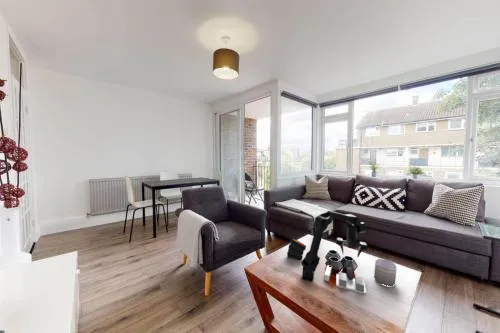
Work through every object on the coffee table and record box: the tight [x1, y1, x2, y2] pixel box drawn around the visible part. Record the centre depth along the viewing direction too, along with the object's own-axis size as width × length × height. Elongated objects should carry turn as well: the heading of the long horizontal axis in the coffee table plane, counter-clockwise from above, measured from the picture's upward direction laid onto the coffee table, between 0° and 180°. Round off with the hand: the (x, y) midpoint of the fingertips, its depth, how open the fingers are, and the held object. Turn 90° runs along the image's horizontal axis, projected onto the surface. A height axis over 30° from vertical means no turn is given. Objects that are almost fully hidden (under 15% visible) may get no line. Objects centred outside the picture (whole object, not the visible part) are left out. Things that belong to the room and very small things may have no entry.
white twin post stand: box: [335, 271, 368, 295], centre depth 124 cm, size 16×12×5 cm
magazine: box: [286, 237, 307, 261], centre depth 152 cm, size 4×13×15 cm, turn 73°
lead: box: [346, 267, 354, 280], centre depth 134 cm, size 17×4×4 cm, turn 157°
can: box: [373, 258, 398, 286], centre depth 128 cm, size 11×11×12 cm
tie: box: [324, 265, 332, 282], centre depth 132 cm, size 12×2×4 cm, turn 151°
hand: (350, 255), depth 139 cm, fingers open, 9 cm apart
